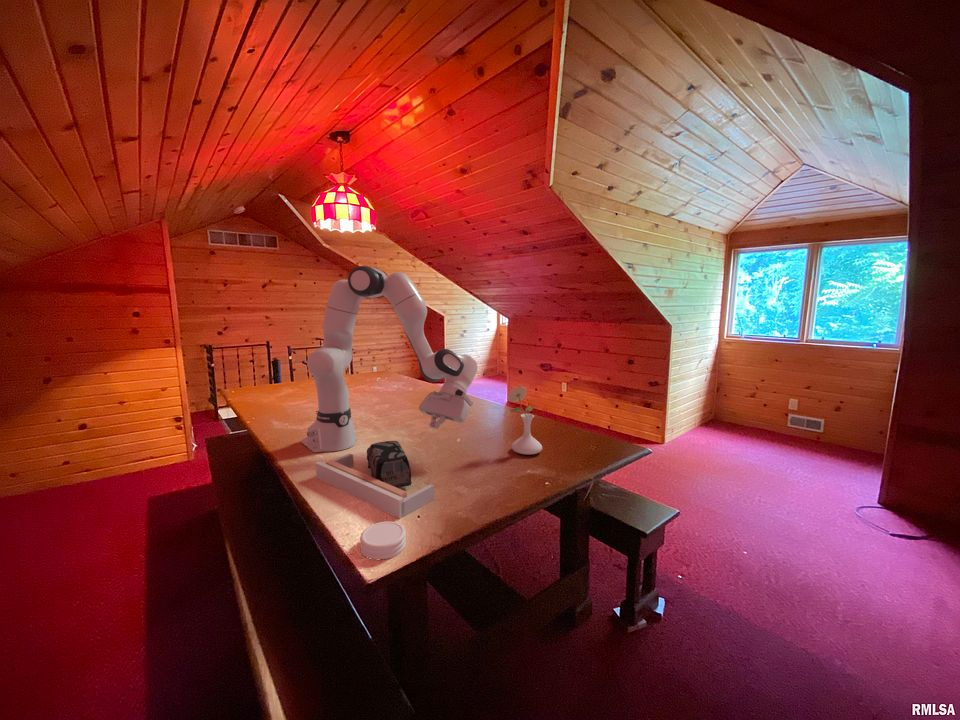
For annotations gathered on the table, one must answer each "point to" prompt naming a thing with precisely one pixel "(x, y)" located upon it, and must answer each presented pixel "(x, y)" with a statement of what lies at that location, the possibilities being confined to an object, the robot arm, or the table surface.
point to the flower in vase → (526, 441)
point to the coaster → (383, 540)
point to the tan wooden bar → (368, 479)
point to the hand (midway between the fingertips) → (433, 427)
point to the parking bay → (372, 489)
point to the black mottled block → (389, 463)
